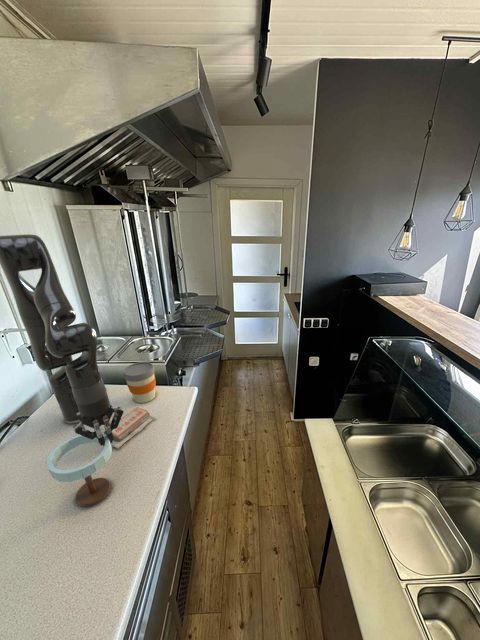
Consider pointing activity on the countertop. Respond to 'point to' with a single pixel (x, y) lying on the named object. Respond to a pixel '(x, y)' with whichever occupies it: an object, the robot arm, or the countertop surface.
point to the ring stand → (93, 491)
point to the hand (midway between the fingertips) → (107, 443)
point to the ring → (81, 471)
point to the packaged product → (130, 426)
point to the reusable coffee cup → (141, 381)
